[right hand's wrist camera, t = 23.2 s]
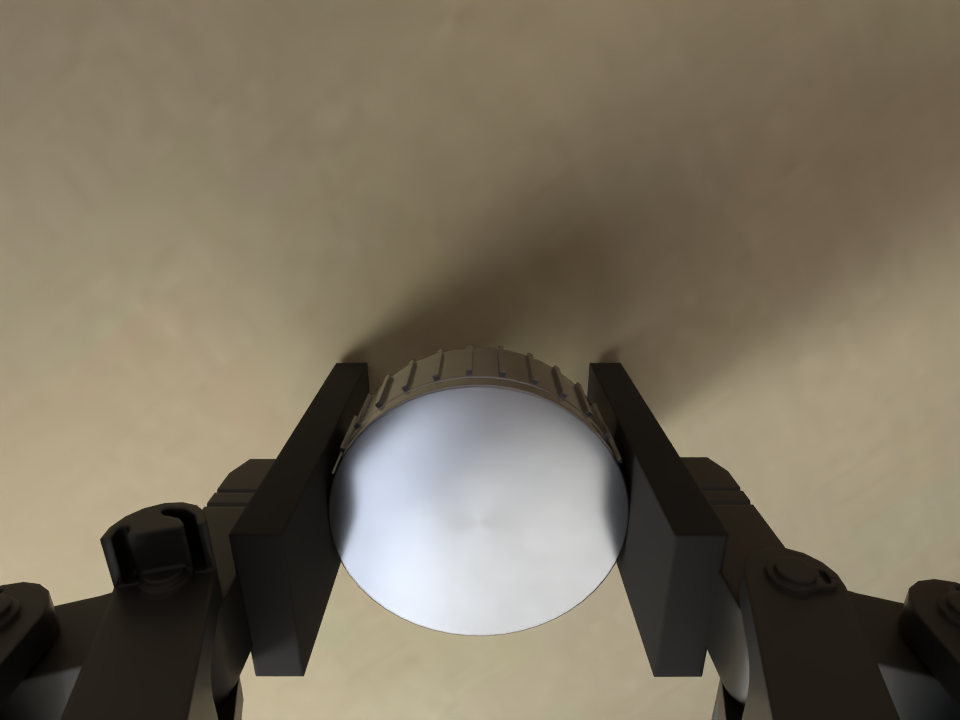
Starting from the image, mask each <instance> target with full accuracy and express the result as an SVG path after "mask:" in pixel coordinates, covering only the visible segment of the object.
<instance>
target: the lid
mask: <svg viewBox="0 0 960 720" xmlns="http://www.w3.org/2000/svg"><path fill="white" fill-rule="evenodd" d="M339 452H340V454H339V456H338V459H337V461H336V463H335V465H334V468H333V470H332V472H331V478H332V481H331V485H330V490H329V495H328V520H329V529H330V533H331V537H332V541H333V544H334V547H335V549H336V552H337V554H338V556H339V559H340V561H341V562H342V564H343V566H344V567H345V569H346V570H347V572H348V574H349V575H350V576H351V578H352V579H353V580H354V581H355V582H356V584H357V585H358V586H359V587H360V588H361V589H362V590H363V591H364V592H365V593H366V594H367V595H368V596H369V597H370V598H371V599H373V600H374V601H375V602H377V603H378V604H379V605H381V606H382V607H383V608H385V609H386V610H388V611H390V612H391V613H393V614H395V615H397V616H398V617H400V618H402V619H405V620H407V621H409V622H411V623H414V624H416V625H419V626H422V627H425V628H428V629H431V630H435V631H440V632H445V633H449V634H457V635H467V636H490V635H501V634H508V633H513V632H518V631H523V630H526V629H530V628H533V627H536V626H539V625H542V624H544V623H546V622H549V621H551V620H553V619H556V618H557V617H559V616H561V615H563V614H565V613H566V612H568V611H570V610H571V609H573V608H574V607H576V606H577V605H578V604H580V603H581V602H583V601H584V600H585V599H586V598H587V597H588V596H589V595H591V594H592V593H593V592H594V591H595V590H596V589H597V588H598V587H599V585H600V584H601V583H602V582H603V581H604V580H605V578H606V577H607V576H608V574H609V573H610V571H611V570H612V568H613V566H614V565H615V563H616V561H617V559H618V557H619V555H620V553H621V550H622V548H623V545H624V542H625V538H626V535H627V531H628V522H629V495H628V490H627V485H626V480H625V478H624V475H623V472H622V469H621V467H620V464H621V463H623V460H622V458H621V455H620V453H619V451H618V448H617V446H616V444H615V442H614V439H613V437H612V435H611V432H610V430H609V428H608V426H606V424H605V421H604V419H603V417H602V414H601V412H600V410H599V407H598V405H597V404H596V403H594V404H592V403H591V402H590V401H589V400H588V398H587V397H586V396H585V394H584V391H583V389H582V386H581V385H580V384H579V383H578V382H577V383H576V384H574V383H573V382H572V381H571V380H570V379H568V378H567V377H566V376H564V375H563V374H562V373H561V372H560V369H559V367H557V366H556V365H554V367H553V368H552V367H550V366H549V365H547V364H545V363H543V362H541V361H539V360H536V359H534V358H533V354H530V353H527V356H526V355H523V354H519V353H515V352H511V351H508V350H504V347H502V346H498V349H493V348H473V345H467V348H465V349H457V350H450V351H446V352H443V349H440V350H437V354H434V355H431V356H429V357H426V358H424V359H421V360H418V361H415V360H414V359H413V360H411V361H409V365H408V366H407V367H405V368H403V369H401V370H400V371H399V372H397V373H396V374H395V375H393V376H391V375H390V374H388V375H387V376H386V377H385V379H384V382H383V384H382V385H381V386H380V387H379V388H378V389H377V390H376V391H375V393H374V394H373V395H371V394H370V393H369V394H368V395H367V396H366V398H365V401H364V403H363V405H362V408H361V410H360V412H359V414H358V417H357V416H354V417H353V420H352V422H351V424H350V426H349V428H348V431H347V433H346V435H345V437H344V439H343V442H342V444H341V446H340V448H339Z"/></svg>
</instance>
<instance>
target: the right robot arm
mask: <svg viewBox="0 0 960 720" xmlns="http://www.w3.org/2000/svg"><path fill="white" fill-rule="evenodd" d="M368 394H369V382H368V369H367V363H336V365H335V366H334V368H333V369H332V371H331V372H330V374H329V376H328V377H327V379H326V380H325V382H324V384H323V385H322V387H321V388H320V390H319V392H318V393H317V395H316V396H315V398H314V400H313V401H312V403H311V404H310V406H309V407H308V409H307V411H306V412H305V414H304V415H303V417H302V419H301V420H300V422H299V423H298V425H297V427H296V428H295V430H294V431H293V433H292V435H291V436H290V438H289V439H288V441H287V443H286V444H285V446H284V447H283V449H282V450H281V452H280V454H279V455H278V457H277V458H276V459H250V460H248V461H247V462H245V463H244V464H242V465H241V466H239V467H238V468H236V469H235V470H233V471H232V472H230V473H229V474H228V476H227V477H226V478H225V480H224V481H223V483H222V484H221V485H220V487H219V488H218V489H217V493H214V495H213V496H212V497H211V499H210V500H209V501H208V503H207V507H204V508H203V510H202V509H201V508H199V507H198V506H197V505H193V504H188V503H183V502H179V503H163V504H159V505H155V506H151V507H147V508H144V509H141V510H139V511H137V512H135V513H132V514H130V515H128V516H125V517H124V518H123V519H121V520H120V521H118V522H117V523H115V524H114V525H113V526H111V527H110V528H109V529H108V530H107V532H106V533H105V534H104V535H103V536H102V538H101V539H100V541H101V544H102V548H103V551H104V554H105V558H106V561H107V565H108V568H109V571H110V575H111V578H112V582H113V585H114V590H113V592H112V593H109V594H106V595H102V596H98V597H94V598H89V599H85V600H80V601H76V602H71V603H67V604H62V605H58V606H54V605H53V602H52V599H51V596H50V594H49V591H48V590H47V589H45V588H44V587H43V586H41V585H40V584H35V583H27V582H21V583H14V584H8V585H2V586H0V720H241V718H242V708H243V693H242V687H241V682H240V677H239V676H240V674H241V672H242V669H243V667H244V665H245V663H246V660H247V658H248V656H249V654H250V651H251V654H252V659H253V664H254V669H255V674H256V676H304V674H305V671H306V668H307V665H308V662H309V658H310V655H311V652H312V649H313V646H314V643H315V640H316V637H317V634H318V631H319V628H320V625H321V622H322V618H323V615H324V612H325V609H326V606H327V603H328V600H329V597H330V594H331V591H332V588H333V585H334V582H335V578H336V575H337V572H338V569H339V566H340V563H341V561H340V559H339V556H338V554H337V552H336V549H335V547H334V544H333V541H332V537H331V533H330V529H329V520H328V495H329V490H330V485H331V481H332V478H331V472H332V470H333V468H334V465H335V463H336V461H337V459H338V456H339V454H340V452H339V448H340V446H341V444H342V442H343V439H344V437H345V435H346V433H347V431H348V428H349V426H350V424H351V422H352V420H353V417H354V416H357V417H358V414H359V412H360V410H361V408H362V405H363V403H364V401H365V398H366V396H367V395H368ZM587 398H588V400H589V401H590V402H591V403H592V404H594V403H596V404H597V405H598V407H599V410H600V412H601V414H602V417H603V419H604V421H605V424H606V426H608V428H609V430H610V432H611V435H612V437H613V439H614V442H615V444H616V446H617V448H618V451H619V453H620V455H621V458H622V460H623V463H621V464H620V467H621V469H622V472H623V475H624V478H625V480H626V485H627V490H628V495H629V522H628V531H627V535H626V538H625V542H624V545H623V548H622V550H621V553H620V555H619V557H618V559H617V561H616V562H617V565H618V568H619V571H620V574H621V577H622V580H623V584H624V587H625V590H626V593H627V596H628V599H629V602H630V605H631V608H632V611H633V614H634V617H635V620H636V623H637V626H638V629H639V632H640V635H641V638H642V642H643V645H644V648H645V651H646V654H647V657H648V660H649V663H650V666H651V669H652V672H653V675H654V677H702V673H703V668H704V663H705V657H706V652H707V650H708V652H709V654H710V656H711V658H712V661H713V663H714V665H715V667H716V670H717V672H718V674H719V676H720V682H719V687H718V691H717V696H716V701H715V706H714V711H713V715H712V720H960V584H959V583H956V582H950V581H943V580H937V579H932V580H924V581H918V582H917V583H915V584H914V585H913V586H912V587H910V588H909V591H908V594H907V596H906V599H905V602H904V604H903V603H899V602H894V601H890V600H885V599H880V598H876V597H871V596H867V595H862V594H858V593H854V592H851V591H847V589H846V587H845V585H844V584H843V582H842V581H841V579H840V578H839V576H838V575H837V574H836V573H835V572H834V571H832V570H831V569H830V568H829V567H827V566H826V565H825V564H824V563H822V562H820V561H818V560H816V559H814V558H812V557H810V556H808V555H806V554H804V553H801V552H798V551H794V550H790V549H787V548H785V547H784V545H783V544H782V543H781V541H780V540H779V539H778V537H777V536H776V535H775V533H774V532H773V531H772V529H771V528H770V527H769V525H768V524H767V523H766V521H765V520H764V519H763V517H762V516H761V515H760V513H759V512H758V511H757V509H756V508H755V507H754V505H751V504H750V500H749V499H748V497H747V496H746V495H745V493H744V492H743V491H740V487H739V485H738V484H737V483H736V481H735V480H734V479H733V477H732V476H731V475H730V473H729V472H728V471H727V470H725V469H724V468H722V467H721V466H719V465H718V464H716V463H715V462H713V461H712V460H710V459H709V458H708V457H679V455H678V454H677V452H676V450H675V449H674V447H673V446H672V444H671V442H670V441H669V439H668V438H667V436H666V435H665V433H664V431H663V430H662V428H661V427H660V425H659V423H658V422H657V420H656V419H655V417H654V415H653V414H652V412H651V411H650V409H649V408H648V406H647V404H646V403H645V401H644V400H643V398H642V396H641V395H640V393H639V392H638V390H637V389H636V387H635V385H634V384H633V382H632V381H631V379H630V377H629V376H628V374H627V373H626V371H625V370H624V368H623V366H622V365H621V363H590V368H589V382H588V395H587Z"/></svg>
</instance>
